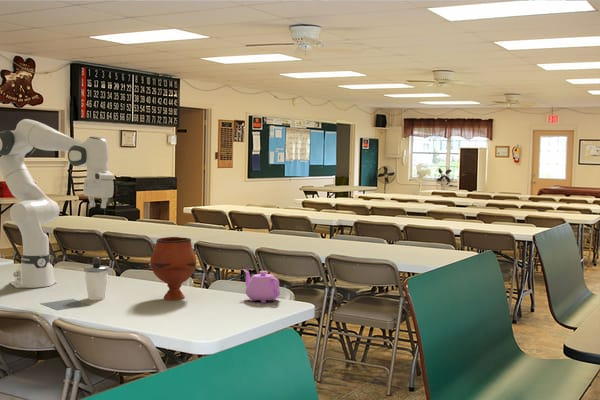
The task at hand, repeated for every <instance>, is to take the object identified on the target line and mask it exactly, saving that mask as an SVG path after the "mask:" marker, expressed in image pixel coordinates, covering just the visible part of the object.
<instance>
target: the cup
mask: <svg viewBox="0 0 600 400" xmlns="http://www.w3.org/2000/svg"><path fill="white" fill-rule="evenodd" d="M84 276H85V277H84V278H85V285H86V291H87V297H88V300H90V301H100V300H101V301H102V300H106V295H107V287H108V282H109V273H108V271H105V272H85V275H84Z"/></svg>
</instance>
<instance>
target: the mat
mask: <svg viewBox="0 0 600 400" xmlns="http://www.w3.org/2000/svg"><path fill="white" fill-rule="evenodd" d="M39 305H41V306H45V307H48V308H50V309H53V310H55V311H61V310H69V309H74V308H75V309H77V308H81V307H82V308H84V307H89V306H91V304H90V303H86V302H83V301H81V300H80V301H79V300H77V299H74V298H70V299H63V300H56V301H50V302H49V301H48V302H42V303H39Z"/></svg>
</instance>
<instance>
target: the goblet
mask: <svg viewBox="0 0 600 400" xmlns="http://www.w3.org/2000/svg"><path fill="white" fill-rule="evenodd" d="M149 260H150V261H149V263H150V264H149V265H150V268H151V270H152V273H153V274H154V275H155V277H156V278H158V279H159V280H160V281H161V282H163V283H165V284H167V286H166V287H168V290H167V292H166V293H165V294H164V296H163V299H164V300H166V301H167V300H169V301H176V300H183V299H185V295H184V293H183V292H182V291H181V287H182V284H184V283H185V282H186V281H188V280H189V279H190V278H191V276H192V275H193V274H194V272H195V271H196V267H197V257H196V254H195V250H194V248H193V245H192V239H191V238H188V237H180V236H167V237H160V238H157V239H156V243H155V245H154V247H153V250H152V252H151V256H150V259H149Z"/></svg>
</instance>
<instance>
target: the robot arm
mask: <svg viewBox="0 0 600 400" xmlns="http://www.w3.org/2000/svg"><path fill="white" fill-rule="evenodd" d="M37 149H38V150H42V151H46V152H47V151H50V152H53V151H54V152H55V151H56V152H57V151H58V152H67V160H68V162H69V164H70V165H72V166H73V167H76V168H86V177H85V179H84V181H83V191H82V192H83V195H84V196H85V197H88V201H89V207H90V208H95V207H96V202H95V198H101V203H100V208H101V209H106V208H107V203H108V200H109V199H110V198H113V196H114V188H115V187H114V179H115V175H114V173H112V172H111V171H110V170H109V164H108V159H109V146H108V142H107V140H106V139H105V138H103V137H99V136H89V137H87V138H86V139H85V140H84V141H81V140H79V139H75V138H73V137H71V136H69V135H66V134H64V133H63V132H61V131H59V130H57V129H55V128H53V127H51V126H49V125H47V124H46V123H42V122H40V121H37V120H33V119H30V118H24V119H21V120H20V121H18V123H17V124H16V128H15V129H14V130H10V129H7V130H2V131H0V173H1V175H2V179H4V182H5V184H6V186H7V189H8V190H9V192H10V193H11V195H12V196H13V197H15V199H17V200H19V202H16V203H14V204H13V205H12V206H11V207H10V211H9V216H10V219H11V221H12V222H13V223H14V224H15V225H16V226H17V228H18V229H19V232H20V234H21V238H22V255H21V260H20V263H21V264H19V266H18V267H17V269H16V270H15V271H13V274H12V275H13V277H14V278H15V279H12V280H10V282H9V283H10V284H11V285H12V286H13V287H14V288H16V289H17V288H18V289H19V288H29V289H32V288H33V289H34V288H45V287H51V286H53V285H55V284H57V283H58V281H57V280H56V279H55V276H54V266H53V265H52V264H51V263H50V262H51V254H50V242H49V241H50V240H49V236H48V234H46V233H45V232H44V231H43V227H42V224H46V223H50V222H52V221H55V220H56V219H57V218H58V217H59V215H60V212H61V211H60V206H59V204H58V203H57V202H56V201H55V200H53V199H51V198H50V197H49V196H47V195H46V194H45V193H44V192H43V191H42V190H41V188H40V187H39V186H38V185H37V184H36V182H35V180H34V177H32V174H31V173H30V171H29V169H28V167H27V165H26V164H25V163H26V162H25V158H29V157H30V156H32V154H33V153H34V152H36V150H37ZM108 198H109V199H108Z"/></svg>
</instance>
